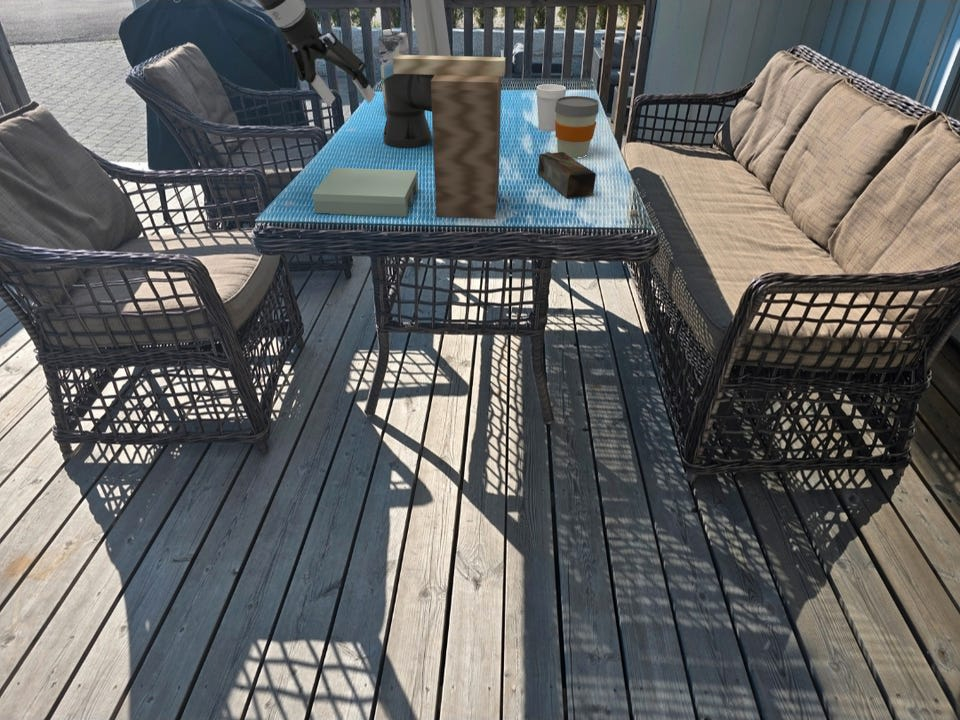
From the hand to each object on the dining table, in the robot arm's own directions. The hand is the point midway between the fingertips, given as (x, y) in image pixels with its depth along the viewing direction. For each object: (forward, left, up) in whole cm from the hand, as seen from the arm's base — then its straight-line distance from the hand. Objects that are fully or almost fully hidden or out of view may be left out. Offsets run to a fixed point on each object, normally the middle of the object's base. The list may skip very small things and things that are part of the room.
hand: (351, 100), depth 141 cm
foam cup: (-76, +18, -23) cm, 82 cm away
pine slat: (-5, +25, +8) cm, 26 cm away
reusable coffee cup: (-56, +35, -23) cm, 70 cm away
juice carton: (-64, -35, -23) cm, 76 cm away
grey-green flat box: (+4, +6, -22) cm, 23 cm away
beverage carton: (-31, +43, -23) cm, 58 cm away
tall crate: (-6, +28, -22) cm, 37 cm away
